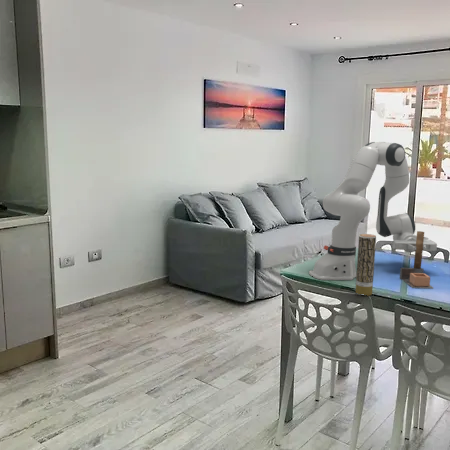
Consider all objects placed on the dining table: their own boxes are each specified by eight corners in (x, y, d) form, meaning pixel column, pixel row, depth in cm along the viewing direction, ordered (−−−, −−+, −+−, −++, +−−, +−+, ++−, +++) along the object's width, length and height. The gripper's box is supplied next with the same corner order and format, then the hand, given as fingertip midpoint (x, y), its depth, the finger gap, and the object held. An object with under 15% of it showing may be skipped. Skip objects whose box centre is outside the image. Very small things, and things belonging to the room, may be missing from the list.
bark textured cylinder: (372, 297, 207) (376, 237, 203) (355, 295, 209) (359, 236, 205) (371, 292, 214) (375, 234, 210) (354, 291, 215) (358, 233, 211)
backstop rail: (434, 288, 221) (435, 277, 220) (411, 288, 221) (412, 276, 221) (421, 278, 237) (422, 268, 236) (399, 278, 237) (400, 267, 236)
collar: (429, 286, 222) (430, 277, 222) (414, 285, 222) (415, 276, 222) (424, 281, 229) (424, 273, 228) (409, 281, 229) (410, 273, 228)
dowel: (415, 274, 238) (419, 232, 235) (411, 272, 241) (415, 231, 238) (421, 274, 239) (425, 232, 236) (417, 272, 242) (421, 231, 239)
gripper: (389, 236, 251) (398, 241, 237) (430, 237, 250) (442, 243, 237) (388, 248, 252) (397, 254, 238) (429, 250, 251) (440, 256, 238)
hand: (419, 248), depth 237 cm, fingers closed on dowel, 3 cm apart
